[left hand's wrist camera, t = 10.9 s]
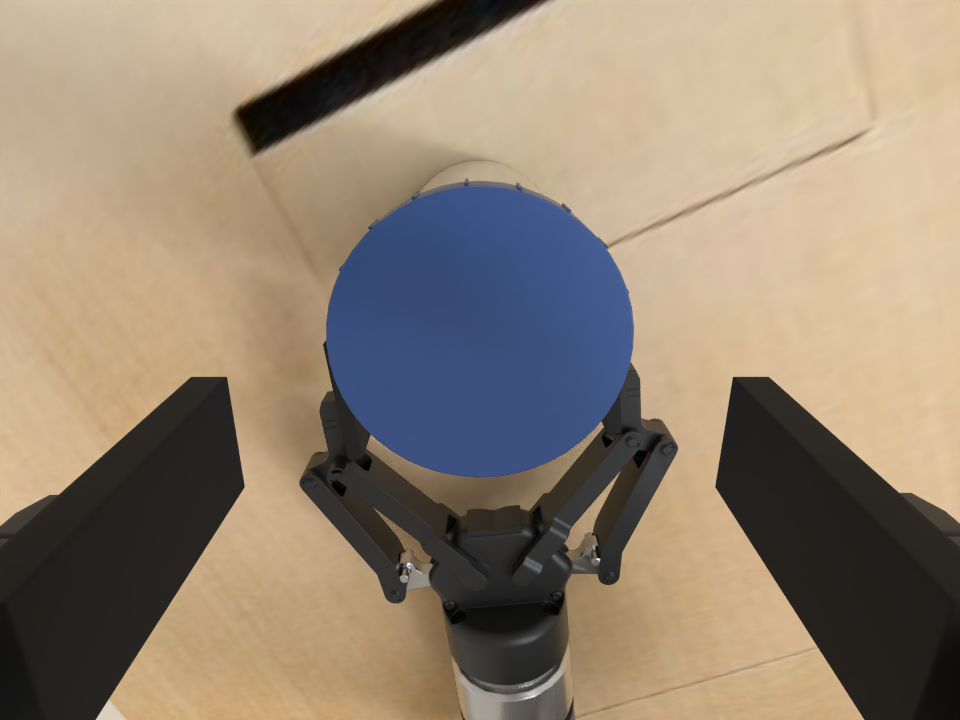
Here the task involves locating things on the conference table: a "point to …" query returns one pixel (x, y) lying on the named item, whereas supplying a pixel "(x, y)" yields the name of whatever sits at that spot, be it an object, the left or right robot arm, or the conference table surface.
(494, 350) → the lid
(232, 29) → the conference table surface
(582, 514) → the right robot arm
